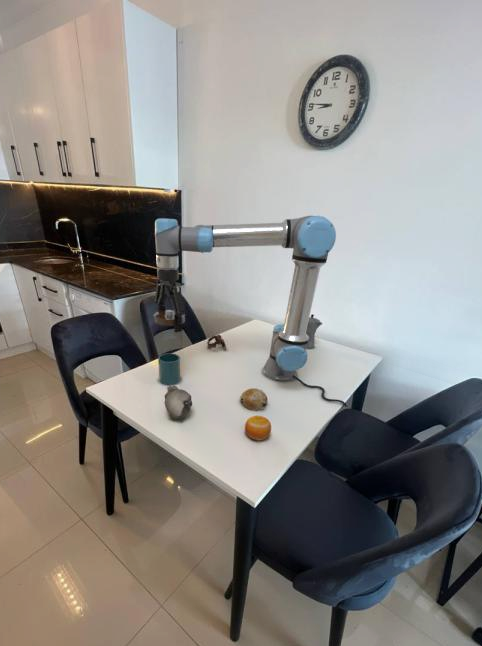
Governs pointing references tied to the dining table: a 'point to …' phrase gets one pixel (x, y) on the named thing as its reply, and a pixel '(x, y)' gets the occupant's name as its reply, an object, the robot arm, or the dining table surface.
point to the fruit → (258, 427)
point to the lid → (166, 317)
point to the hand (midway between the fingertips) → (170, 327)
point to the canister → (169, 369)
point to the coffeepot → (312, 330)
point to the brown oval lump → (254, 399)
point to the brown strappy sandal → (218, 342)
